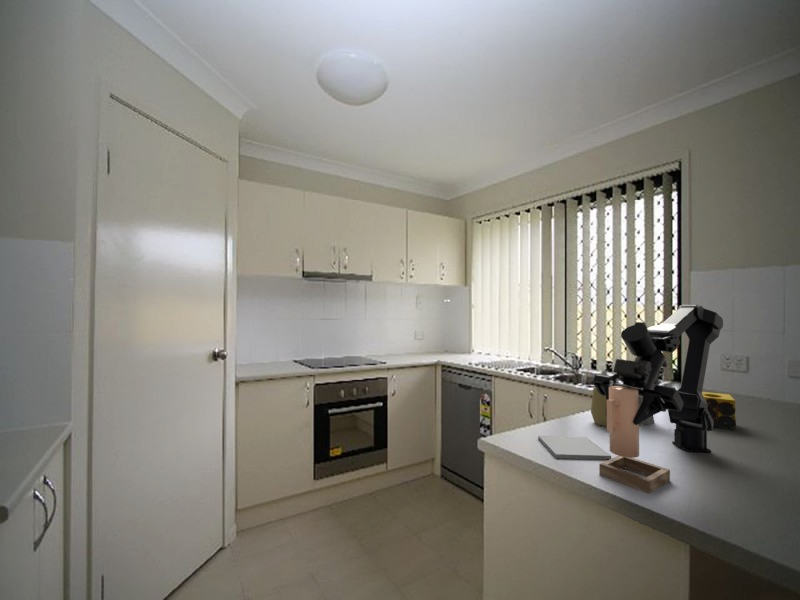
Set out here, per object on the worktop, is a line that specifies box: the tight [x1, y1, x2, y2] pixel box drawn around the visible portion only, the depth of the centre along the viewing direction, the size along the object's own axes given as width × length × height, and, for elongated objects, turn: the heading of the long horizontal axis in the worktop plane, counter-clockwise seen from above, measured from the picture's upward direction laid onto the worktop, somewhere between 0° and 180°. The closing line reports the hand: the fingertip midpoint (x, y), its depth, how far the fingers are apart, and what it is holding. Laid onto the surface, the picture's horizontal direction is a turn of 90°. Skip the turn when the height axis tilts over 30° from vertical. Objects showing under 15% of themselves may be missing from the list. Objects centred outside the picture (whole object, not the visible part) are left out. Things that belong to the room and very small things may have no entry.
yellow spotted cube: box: [702, 391, 737, 431], centre depth 126 cm, size 10×10×10 cm
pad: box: [537, 435, 612, 460], centre depth 102 cm, size 14×14×1 cm
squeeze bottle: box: [590, 369, 608, 427], centre depth 125 cm, size 8×8×18 cm
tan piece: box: [606, 386, 640, 458], centre depth 87 cm, size 9×6×15 cm
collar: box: [598, 455, 671, 494], centre depth 85 cm, size 10×10×2 cm
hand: (620, 420), depth 87 cm, fingers closed on tan piece, 6 cm apart
